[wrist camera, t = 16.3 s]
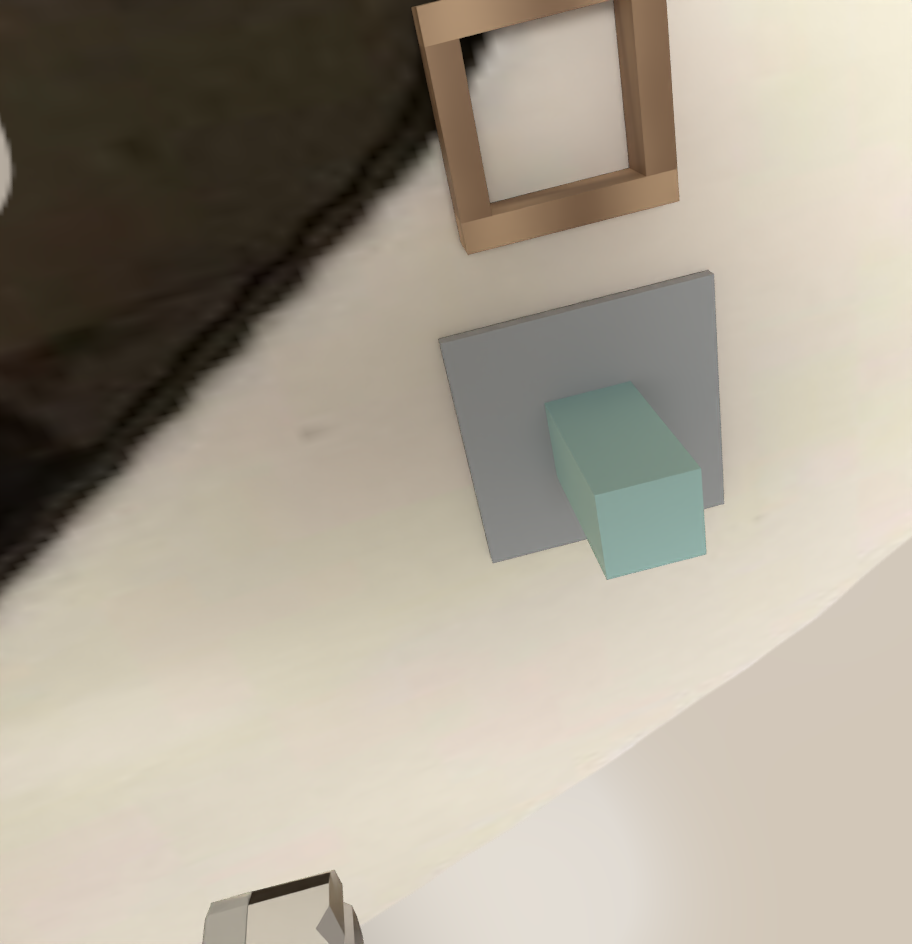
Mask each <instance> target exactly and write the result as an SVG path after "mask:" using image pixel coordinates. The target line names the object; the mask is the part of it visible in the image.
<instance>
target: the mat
mask: <svg viewBox="0 0 912 944" xmlns="http://www.w3.org/2000/svg"><path fill="white" fill-rule="evenodd" d="M439 343H440V348H441V352H442V356H443V360H444V364H445V368H446V373H447V377H448V381H449V385H450V389H451V393H452V397H453V402H454V406H455V410H456V414H457V418H458V422H459V426H460V431H461V435H462V439H463V443H464V447H465V451H466V456H467V460H468V464H469V468H470V472H471V476H472V480H473V485H474V489H475V493H476V497H477V501H478V505H479V509H480V514H481V518H482V522H483V526H484V530H485V534H486V538H487V543H488V547H489V551H490V555H491V559H492V562H493V563H496V562H500V561H504V560H507V559H511V558H515V557H519V556H523V555H527V554H531V553H535V552H538V551H542V550H546V549H550V548H554V547H558V546H562V545H566V544H570V543H573V542H577V541H581V540H585V539H587V538H586V536H585V533H584V531H583V529H582V527H581V525H580V523H579V521H578V519H577V517H576V515H575V513H574V511H573V509H572V507H571V505H570V502H569V500H568V498H567V496H566V494H565V492H564V490H563V488H562V486H561V484H560V482H559V480H558V478H557V473H556V468H555V462H554V456H553V450H552V445H551V439H550V433H549V427H548V422H547V416H546V410H545V405H544V403H546V402H550V401H554V400H558V399H562V398H566V397H570V396H574V395H578V394H581V393H585V392H589V391H593V390H597V389H601V388H605V387H609V386H613V385H617V384H621V383H624V382H628V381H631V382H632V384H633V385H634V386H635V387H636V389H637V390H638V391H639V392H640V394H641V395H642V396H643V397H644V398H645V400H646V401H647V402H648V403H649V405H650V406H651V407H652V408H653V410H654V411H655V412H656V413H657V415H658V416H659V417H660V418H661V419H662V421H663V422H664V423H665V424H666V426H667V427H668V428H669V429H670V431H671V432H672V433H673V434H674V435H675V437H676V438H677V439H678V440H679V442H680V443H681V444H682V445H683V447H684V448H685V449H686V450H687V451H688V453H689V454H690V455H691V456H692V458H693V459H694V460H695V461H696V463H697V464H698V465H699V466H700V467H701V474H702V490H703V506H704V509H706V508H710V507H713V506H717V505H721V504H724V487H723V465H722V443H721V421H720V398H719V376H718V354H717V332H716V310H715V288H714V274H713V273H711V272H710V271H709V270H707V271H703V272H699V273H695V274H691V275H687V276H684V277H680V278H676V279H672V280H668V281H664V282H660V283H656V284H652V285H648V286H644V287H640V288H637V289H633V290H629V291H625V292H621V293H617V294H613V295H609V296H605V297H601V298H597V299H593V300H590V301H586V302H582V303H578V304H574V305H570V306H566V307H562V308H558V309H554V310H550V311H546V312H542V313H539V314H535V315H531V316H527V317H523V318H519V319H515V320H511V321H507V322H503V323H499V324H495V325H492V326H488V327H484V328H480V329H476V330H472V331H468V332H464V333H460V334H456V335H452V336H448V337H445V338H441V339H439Z"/></svg>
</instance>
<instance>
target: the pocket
mask: <svg viewBox="0 0 912 944" xmlns="http://www.w3.org/2000/svg"><path fill="white" fill-rule="evenodd" d="M605 1H609V0H438V1H434V2H430V3H427V4H423V5H419V6H415V7H411V9H412V14H413V18H414V23H415V28H416V33H417V37H418V42H419V47H420V52H421V56H422V61H423V66H424V71H425V75H426V80H427V85H428V90H429V94H430V99H431V104H432V108H433V113H434V118H435V123H436V127H437V132H438V137H439V142H440V146H441V151H442V156H443V161H444V165H445V170H446V175H447V180H448V184H449V189H450V194H451V199H452V203H453V208H454V213H455V217H456V222H457V227H458V232H459V236H460V241H461V243H462V245H463V247H464V249H465V251H466V252H467V254H468V255H469V254H473V253H477V252H481V251H485V250H489V249H493V248H497V247H501V246H504V245H508V244H512V243H516V242H520V241H524V240H528V239H532V238H536V237H540V236H544V235H548V234H552V233H555V232H559V231H563V230H567V229H571V228H575V227H579V226H583V225H587V224H591V223H595V222H599V221H603V220H607V219H610V218H614V217H618V216H622V215H626V214H630V213H634V212H638V211H642V210H646V209H650V208H654V207H658V206H662V205H665V204H669V203H673V202H677V201H679V188H678V172H677V157H676V142H675V126H674V111H673V96H672V80H671V65H670V50H669V34H668V19H667V4H666V0H614V11H615V21H616V32H617V42H618V53H619V63H620V74H621V84H622V95H623V105H624V116H625V126H626V137H627V147H628V158H629V168H627V169H623V170H619V171H615V172H611V173H608V174H604V175H600V176H596V177H592V178H588V179H584V180H580V181H576V182H572V183H568V184H564V185H560V186H556V187H552V188H549V189H545V190H541V191H537V192H533V193H529V194H525V195H521V196H517V197H513V198H509V199H505V200H501V201H497V202H493V203H490V201H489V196H488V190H487V185H486V180H485V174H484V169H483V164H482V158H481V153H480V148H479V142H478V137H477V132H476V126H475V121H474V115H473V110H472V105H471V99H470V94H469V89H468V83H467V78H466V73H465V67H464V62H463V57H462V51H461V46H460V41H459V38H463V37H467V36H471V35H475V34H479V33H483V32H487V31H491V30H494V29H498V28H502V27H506V26H510V25H514V24H518V23H522V22H526V21H530V20H534V19H538V18H542V17H546V16H550V15H554V14H558V13H562V12H566V11H570V10H574V9H578V8H582V7H586V6H589V5H593V4H597V3H601V2H605Z"/></svg>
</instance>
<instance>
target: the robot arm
mask: <svg viewBox="0 0 912 944" xmlns="http://www.w3.org/2000/svg"><path fill="white" fill-rule="evenodd" d="M202 944H364V942H363V936H362V932H361V928H360V925H359V921H358V918H357V916H356V913H355V911H354V909H353V906H352V905H350V904H347V903H345V902H343V887H342V883H341V881H340V879H339V877H338V875H337V873H336V872H335V870H331V871H327V872H323V873H320V874H316V875H312V876H309V877H305V878H301V879H297V880H294V881H290V882H286V883H283V884H279V885H275V886H271V887H268V888H264V889H260V890H257V891H251V892H247V893H244V894H240V895H237V896H233V897H230V898H227V899H223V900H220V901H216V902H213V903H211V905H210V908H209V910H208V913H207V916H206V918H205V925H204V934H203V942H202Z"/></svg>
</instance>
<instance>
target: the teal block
mask: <svg viewBox="0 0 912 944" xmlns="http://www.w3.org/2000/svg"><path fill="white" fill-rule="evenodd" d="M544 405H545V410H546V416H547V422H548V427H549V433H550V439H551V445H552V450H553V456H554V462H555V468H556V473H557V478H558V480H559V482H560V484H561V486H562V488H563V490H564V492H565V494H566V496H567V498H568V500H569V502H570V505H571V507H572V509H573V511H574V513H575V515H576V517H577V519H578V521H579V523H580V525H581V527H582V529H583V531H584V533H585V536H586V538H587V540H588V542H589V544H590V546H591V548H592V550H593V552H594V554H595V556H596V558H597V560H598V562H599V564H600V566H601V569H602V571H603V573H604V575H605V577H606V579H607V580H608V579H612V578H616V577H620V576H624V575H628V574H631V573H635V572H639V571H643V570H647V569H651V568H655V567H659V566H662V565H666V564H670V563H674V562H678V561H682V560H686V559H690V558H694V557H697V556H701V555H705V554H706V539H705V523H704V506H703V490H702V474H701V467H700V466H699V465H698V464H697V463H696V461H695V460H694V459H693V458H692V456H691V455H690V454H689V453H688V451H687V450H686V449H685V448H684V447H683V445H682V444H681V443H680V442H679V440H678V439H677V438H676V437H675V435H674V434H673V433H672V432H671V431H670V429H669V428H668V427H667V426H666V424H665V423H664V422H663V421H662V419H661V418H660V417H659V416H658V415H657V413H656V412H655V411H654V410H653V408H652V407H651V406H650V405H649V403H648V402H647V401H646V400H645V398H644V397H643V396H642V395H641V394H640V392H639V391H638V390H637V389H636V387H635V386H634V385H633V384H632V382H631V381H628V382H624V383H621V384H617V385H613V386H609V387H605V388H601V389H597V390H593V391H589V392H585V393H581V394H578V395H574V396H570V397H566V398H562V399H558V400H554V401H550V402H546V403H544Z"/></svg>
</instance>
